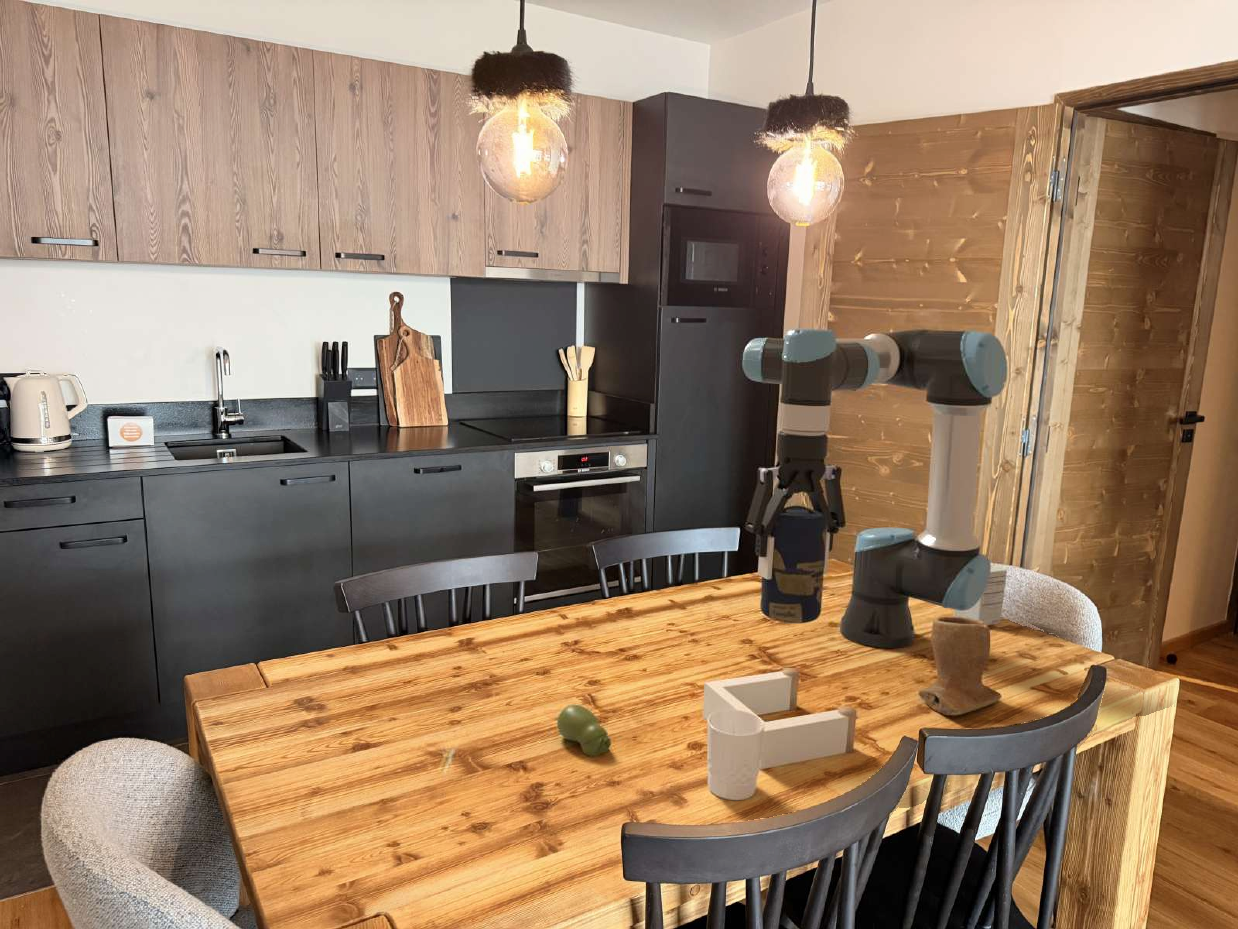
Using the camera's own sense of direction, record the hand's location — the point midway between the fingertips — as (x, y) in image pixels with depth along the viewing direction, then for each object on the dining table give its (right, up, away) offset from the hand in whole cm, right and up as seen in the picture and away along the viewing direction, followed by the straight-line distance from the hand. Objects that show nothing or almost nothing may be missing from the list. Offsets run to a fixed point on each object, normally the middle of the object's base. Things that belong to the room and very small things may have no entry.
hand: (792, 574), depth 135 cm
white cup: (-11, -29, -12) cm, 33 cm away
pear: (-32, -26, -1) cm, 42 cm away
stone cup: (+32, -25, +18) cm, 45 cm away
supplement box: (+54, -18, +62) cm, 84 cm away
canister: (0, -7, +1) cm, 7 cm away
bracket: (-1, -26, +5) cm, 26 cm away
